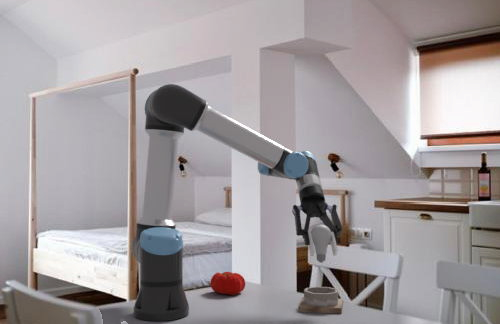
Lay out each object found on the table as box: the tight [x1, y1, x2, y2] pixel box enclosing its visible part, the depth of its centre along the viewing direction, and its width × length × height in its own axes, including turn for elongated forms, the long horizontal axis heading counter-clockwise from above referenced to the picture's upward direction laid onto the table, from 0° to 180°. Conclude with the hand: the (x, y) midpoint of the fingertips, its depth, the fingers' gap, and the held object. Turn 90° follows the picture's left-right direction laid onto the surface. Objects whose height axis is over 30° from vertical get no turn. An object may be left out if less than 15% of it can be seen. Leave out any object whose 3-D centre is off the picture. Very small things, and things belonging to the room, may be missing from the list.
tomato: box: [209, 271, 246, 296], centre depth 196 cm, size 10×11×6 cm
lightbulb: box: [310, 224, 332, 264], centre depth 176 cm, size 6×6×11 cm
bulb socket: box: [297, 286, 344, 314], centre depth 176 cm, size 12×12×5 cm
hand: (324, 252), depth 173 cm, fingers closed on lightbulb, 6 cm apart
